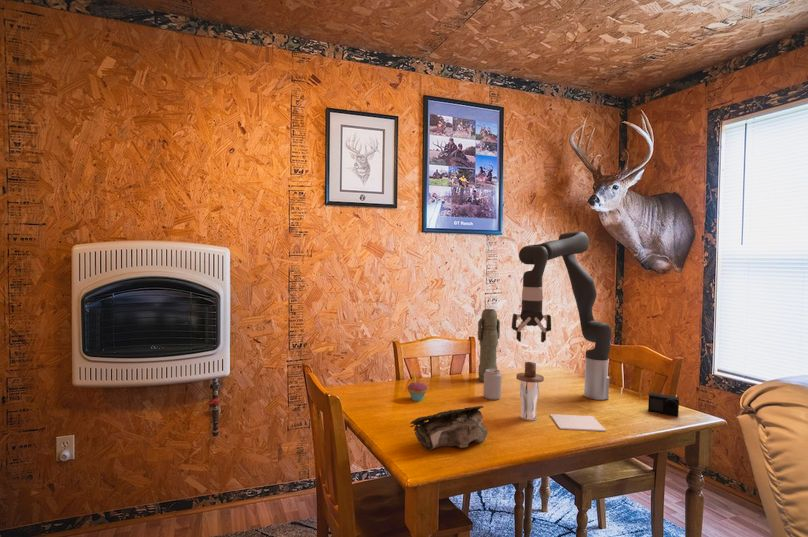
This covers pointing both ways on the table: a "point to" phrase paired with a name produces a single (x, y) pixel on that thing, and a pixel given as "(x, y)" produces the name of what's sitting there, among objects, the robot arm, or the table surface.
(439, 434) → the hollow geode rock
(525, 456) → the table surface
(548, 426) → the table surface
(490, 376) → the can
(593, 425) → the white mat
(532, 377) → the walnut lid
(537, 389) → the beer glass
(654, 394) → the digital camera
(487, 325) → the green statue
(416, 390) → the cupcake
